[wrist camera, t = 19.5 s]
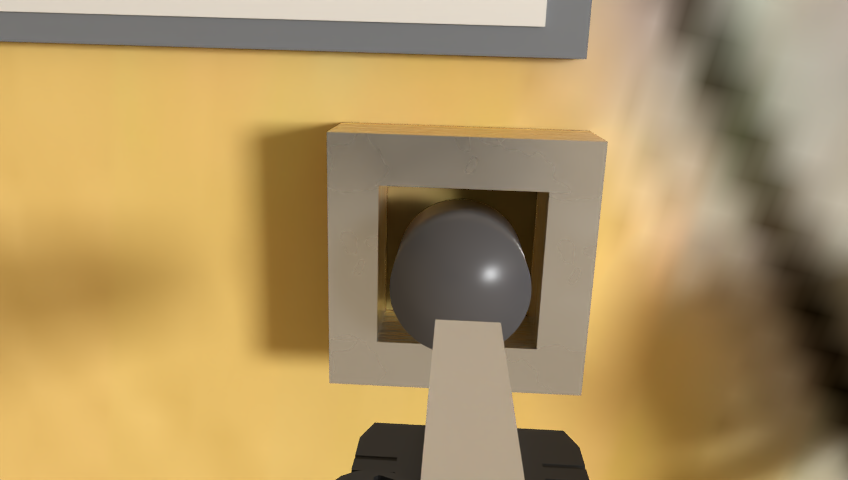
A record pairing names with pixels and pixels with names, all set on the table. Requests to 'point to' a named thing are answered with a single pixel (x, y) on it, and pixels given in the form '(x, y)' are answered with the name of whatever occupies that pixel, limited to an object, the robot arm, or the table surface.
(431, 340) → the button
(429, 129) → the button housing
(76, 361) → the table surface
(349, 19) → the sheet
